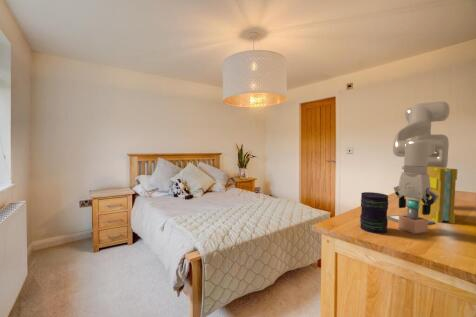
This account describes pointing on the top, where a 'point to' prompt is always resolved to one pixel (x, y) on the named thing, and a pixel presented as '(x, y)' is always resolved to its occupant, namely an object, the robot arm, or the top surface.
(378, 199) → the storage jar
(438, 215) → the book
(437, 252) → the top surface
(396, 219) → the writing mat
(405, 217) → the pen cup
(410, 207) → the cylinder
